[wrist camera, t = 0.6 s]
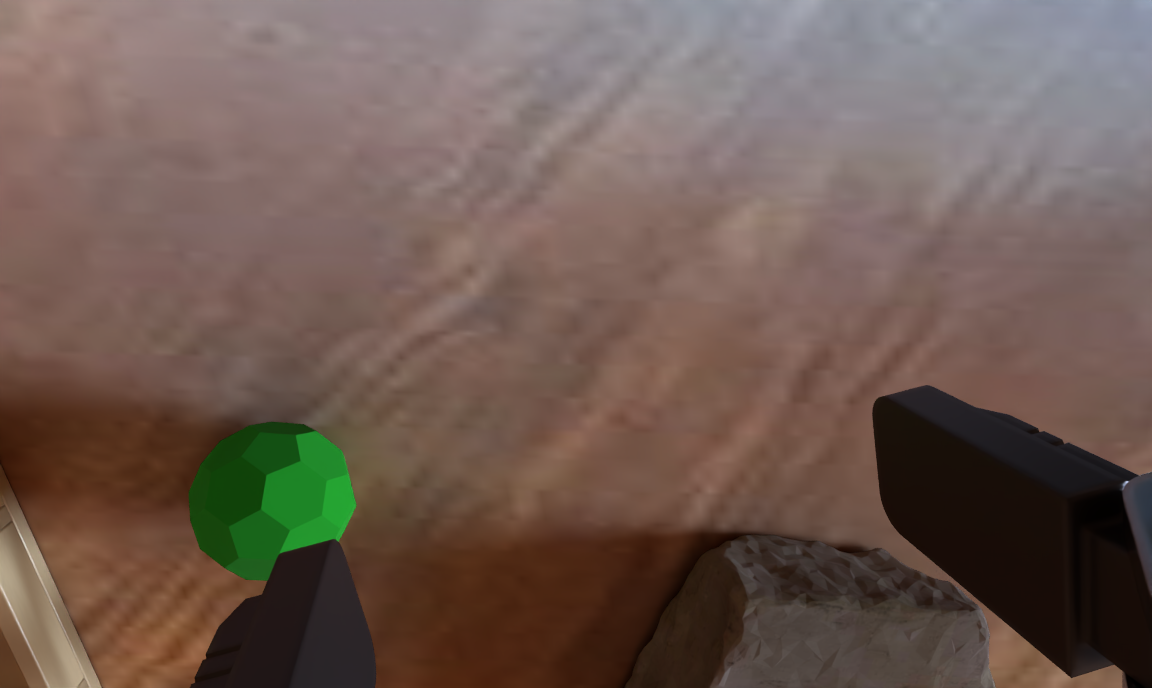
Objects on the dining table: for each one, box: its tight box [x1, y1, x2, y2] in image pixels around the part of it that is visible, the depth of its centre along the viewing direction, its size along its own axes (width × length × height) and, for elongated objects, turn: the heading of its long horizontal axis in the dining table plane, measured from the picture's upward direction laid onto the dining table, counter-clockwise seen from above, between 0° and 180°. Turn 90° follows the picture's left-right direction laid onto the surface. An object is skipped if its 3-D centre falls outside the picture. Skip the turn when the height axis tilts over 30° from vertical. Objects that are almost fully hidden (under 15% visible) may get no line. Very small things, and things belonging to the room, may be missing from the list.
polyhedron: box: [189, 422, 356, 581], centre depth 25 cm, size 5×5×5 cm
